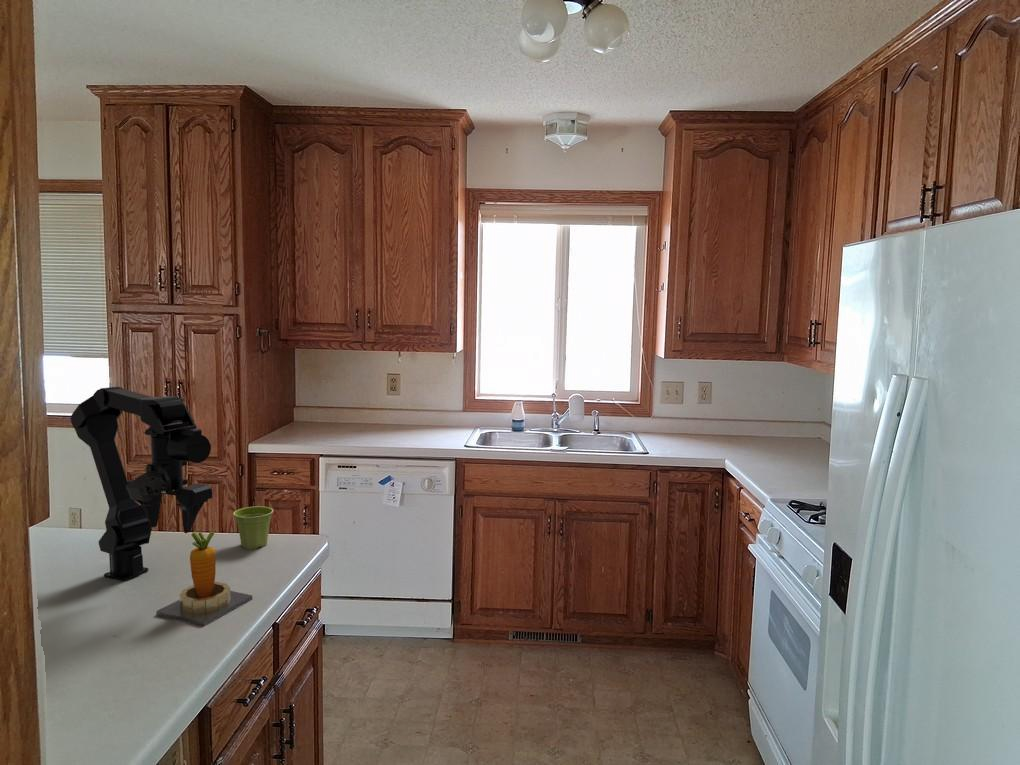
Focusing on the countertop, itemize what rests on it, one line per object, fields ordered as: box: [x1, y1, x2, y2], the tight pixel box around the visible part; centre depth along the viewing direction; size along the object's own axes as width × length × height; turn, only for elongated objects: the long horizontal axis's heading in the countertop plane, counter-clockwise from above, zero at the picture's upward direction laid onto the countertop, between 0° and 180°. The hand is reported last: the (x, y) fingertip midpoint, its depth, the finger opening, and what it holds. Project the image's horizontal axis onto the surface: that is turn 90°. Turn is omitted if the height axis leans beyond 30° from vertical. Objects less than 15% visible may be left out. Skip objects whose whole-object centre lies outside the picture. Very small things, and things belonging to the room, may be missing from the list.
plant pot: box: [233, 505, 274, 549], centre depth 174 cm, size 9×9×9 cm
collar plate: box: [155, 581, 253, 627], centre depth 139 cm, size 12×13×3 cm
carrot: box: [189, 531, 217, 598], centre depth 138 cm, size 5×5×15 cm
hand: (170, 529), depth 146 cm, fingers open, 9 cm apart
